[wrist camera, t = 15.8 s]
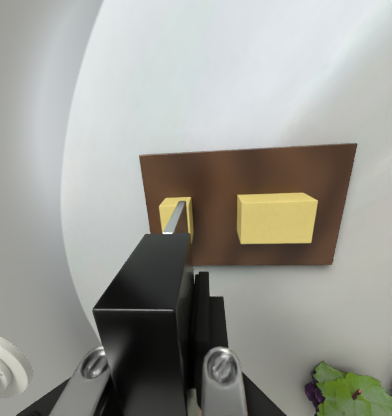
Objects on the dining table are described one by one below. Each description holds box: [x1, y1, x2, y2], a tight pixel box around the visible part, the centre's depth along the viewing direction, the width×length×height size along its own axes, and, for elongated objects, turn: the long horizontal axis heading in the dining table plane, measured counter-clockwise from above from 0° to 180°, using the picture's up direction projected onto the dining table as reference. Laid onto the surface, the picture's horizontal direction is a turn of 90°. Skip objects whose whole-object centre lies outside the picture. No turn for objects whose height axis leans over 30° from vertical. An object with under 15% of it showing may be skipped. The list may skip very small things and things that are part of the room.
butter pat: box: [159, 197, 194, 244], centre depth 21 cm, size 3×4×3 cm, turn 3°
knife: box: [92, 201, 200, 416], centre depth 10 cm, size 2×9×9 cm, turn 3°
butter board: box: [139, 143, 357, 265], centre depth 22 cm, size 22×14×2 cm, turn 93°
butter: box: [237, 193, 318, 244], centre depth 20 cm, size 7×4×3 cm, turn 93°
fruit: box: [305, 361, 392, 416], centre depth 27 cm, size 10×11×15 cm
